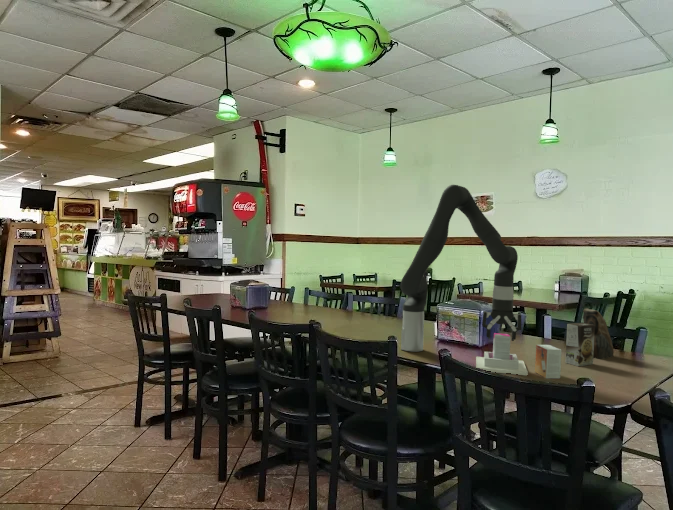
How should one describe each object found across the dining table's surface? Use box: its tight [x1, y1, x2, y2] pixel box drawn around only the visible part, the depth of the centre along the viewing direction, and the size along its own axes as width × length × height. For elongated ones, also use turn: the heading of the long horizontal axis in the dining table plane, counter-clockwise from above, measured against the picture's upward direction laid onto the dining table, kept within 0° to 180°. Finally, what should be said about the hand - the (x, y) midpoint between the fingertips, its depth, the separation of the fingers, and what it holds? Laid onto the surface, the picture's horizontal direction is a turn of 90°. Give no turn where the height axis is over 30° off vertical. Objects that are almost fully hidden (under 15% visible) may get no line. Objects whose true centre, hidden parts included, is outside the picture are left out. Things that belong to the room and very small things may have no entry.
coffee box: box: [565, 322, 595, 367], centre depth 195 cm, size 9×6×16 cm
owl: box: [582, 307, 614, 360], centre depth 211 cm, size 13×13×20 cm
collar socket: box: [475, 351, 529, 376], centre depth 186 cm, size 18×18×4 cm
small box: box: [534, 344, 563, 379], centre depth 176 cm, size 8×6×10 cm
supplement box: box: [492, 332, 512, 360], centre depth 186 cm, size 6×6×12 cm
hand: (500, 339), depth 186 cm, fingers open, 8 cm apart
